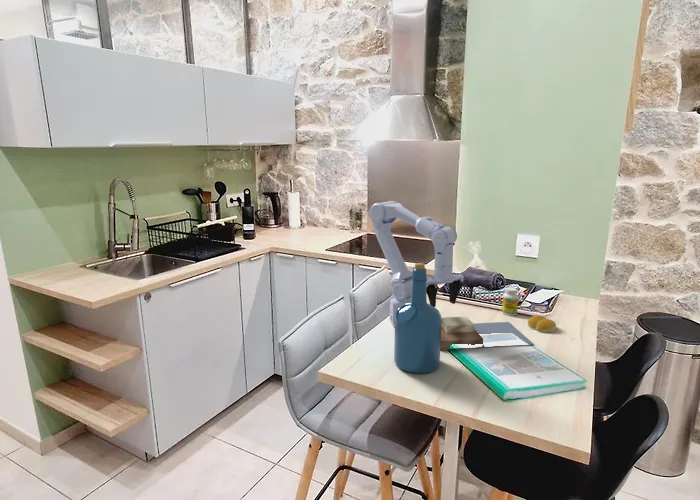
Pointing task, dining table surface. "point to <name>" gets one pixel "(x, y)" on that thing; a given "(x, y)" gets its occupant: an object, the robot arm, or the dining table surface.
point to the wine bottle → (418, 329)
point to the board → (459, 339)
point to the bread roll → (541, 324)
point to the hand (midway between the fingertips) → (442, 304)
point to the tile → (457, 324)
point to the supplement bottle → (510, 302)
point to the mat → (499, 329)
